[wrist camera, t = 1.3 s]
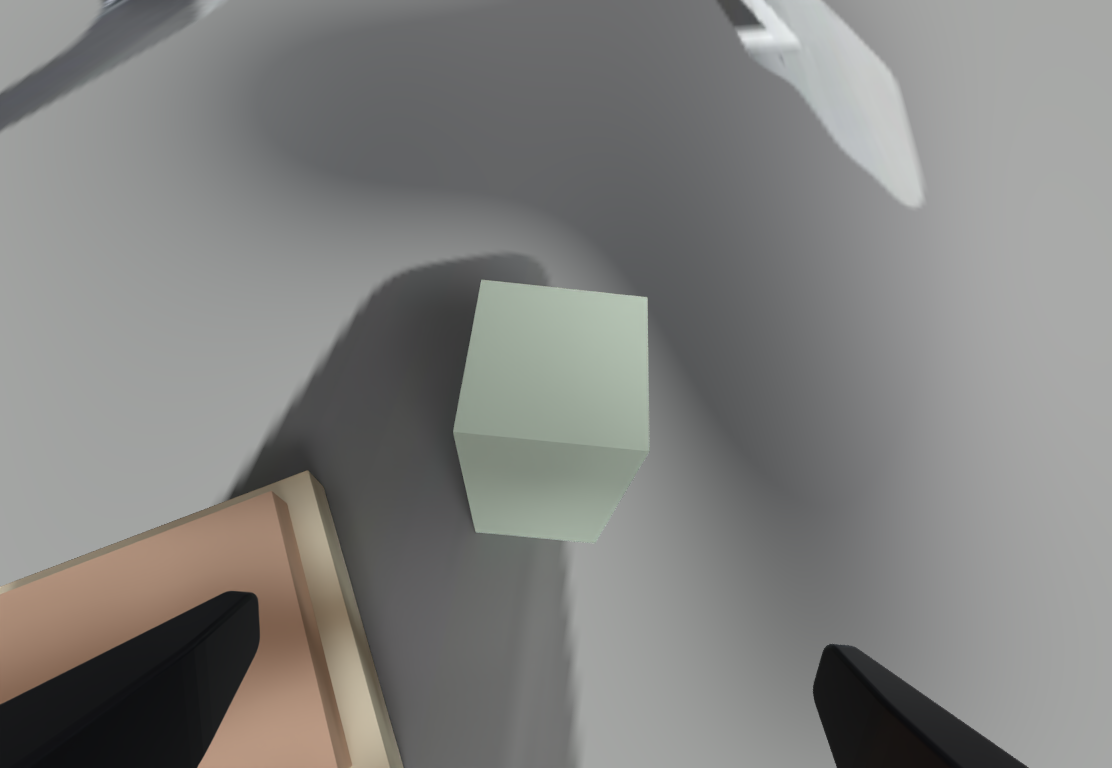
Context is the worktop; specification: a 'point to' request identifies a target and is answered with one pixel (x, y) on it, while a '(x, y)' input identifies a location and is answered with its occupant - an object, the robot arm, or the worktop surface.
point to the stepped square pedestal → (199, 575)
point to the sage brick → (552, 409)
